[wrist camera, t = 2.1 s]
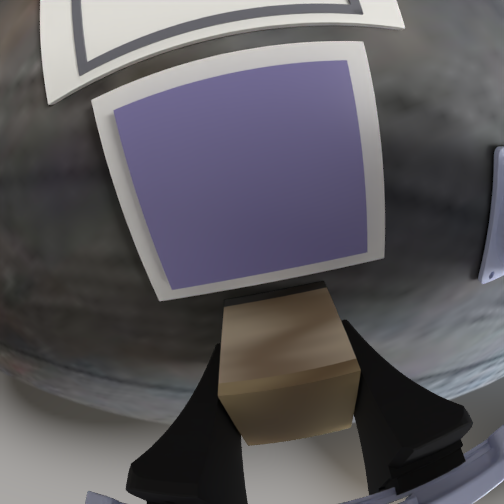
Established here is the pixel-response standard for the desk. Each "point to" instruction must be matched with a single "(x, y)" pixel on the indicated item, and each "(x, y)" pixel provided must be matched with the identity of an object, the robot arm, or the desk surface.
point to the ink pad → (248, 166)
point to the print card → (172, 30)
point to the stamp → (286, 365)
